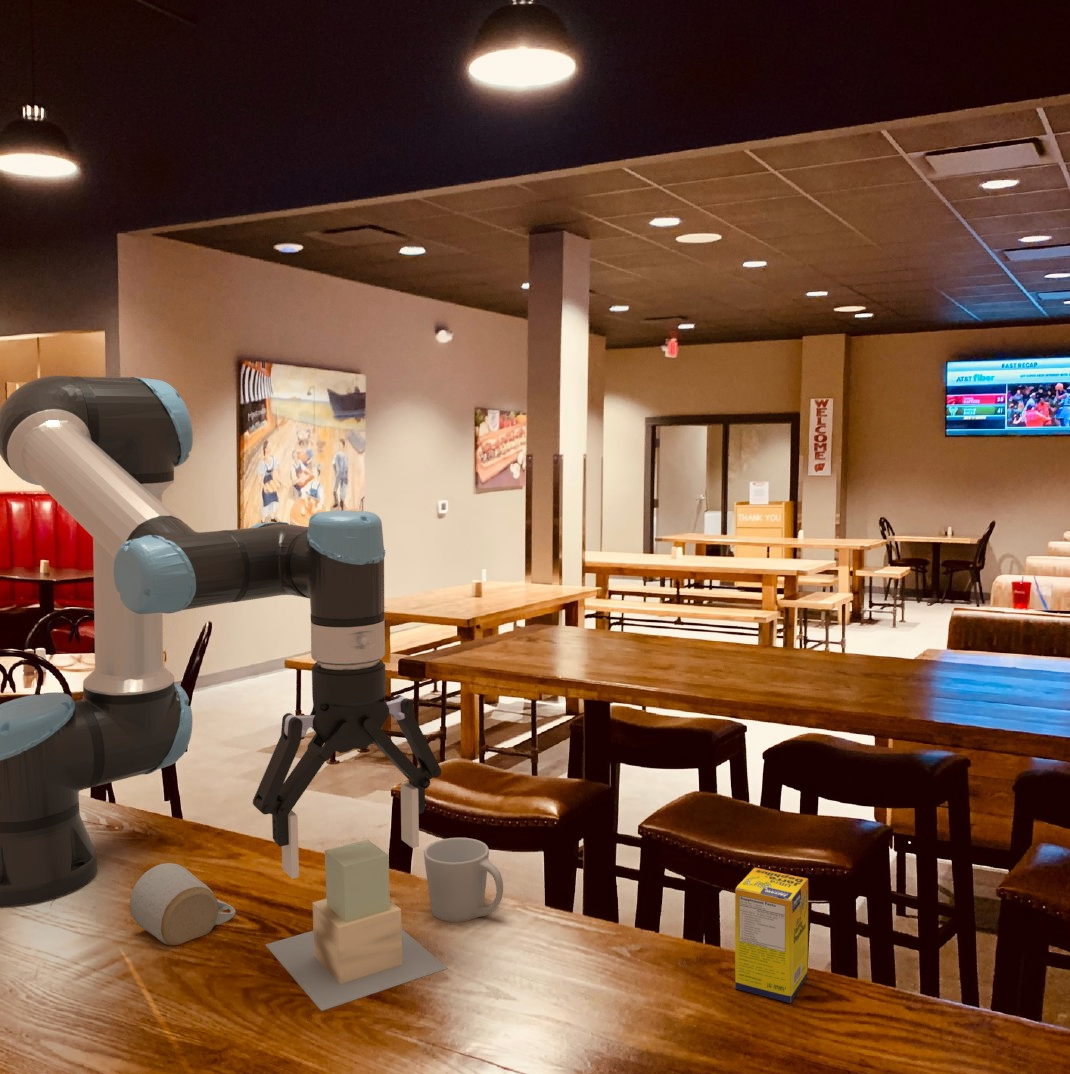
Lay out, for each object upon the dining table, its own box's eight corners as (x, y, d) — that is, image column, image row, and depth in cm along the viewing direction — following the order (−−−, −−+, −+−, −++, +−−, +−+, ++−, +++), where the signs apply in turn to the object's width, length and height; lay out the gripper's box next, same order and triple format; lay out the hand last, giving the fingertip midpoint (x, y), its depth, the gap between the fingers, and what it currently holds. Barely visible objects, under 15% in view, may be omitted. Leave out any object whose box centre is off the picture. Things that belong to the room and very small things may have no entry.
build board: (265, 955, 115) (265, 944, 115) (381, 920, 123) (381, 910, 123) (321, 1022, 102) (321, 1010, 102) (447, 979, 109) (447, 968, 109)
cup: (450, 899, 128) (448, 832, 127) (519, 918, 123) (518, 848, 122) (412, 925, 121) (410, 855, 121) (483, 946, 116) (482, 872, 115)
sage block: (326, 904, 111) (324, 850, 110) (369, 892, 114) (368, 839, 113) (345, 923, 107) (343, 866, 106) (390, 910, 110) (388, 855, 109)
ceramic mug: (163, 962, 114) (161, 894, 113) (129, 937, 119) (127, 872, 119) (250, 929, 121) (248, 865, 121) (214, 907, 127) (212, 846, 126)
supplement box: (808, 978, 109) (809, 877, 108) (791, 1005, 104) (792, 900, 103) (753, 963, 112) (754, 865, 111) (733, 989, 107) (734, 887, 106)
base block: (314, 956, 112) (312, 902, 112) (374, 937, 116) (372, 886, 115) (340, 984, 106) (338, 927, 106) (402, 964, 110) (401, 909, 110)
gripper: (241, 686, 98) (248, 901, 100) (471, 652, 112) (472, 843, 114) (217, 669, 104) (223, 873, 107) (437, 640, 118) (439, 821, 120)
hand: (352, 858), depth 110 cm, fingers open, 13 cm apart
